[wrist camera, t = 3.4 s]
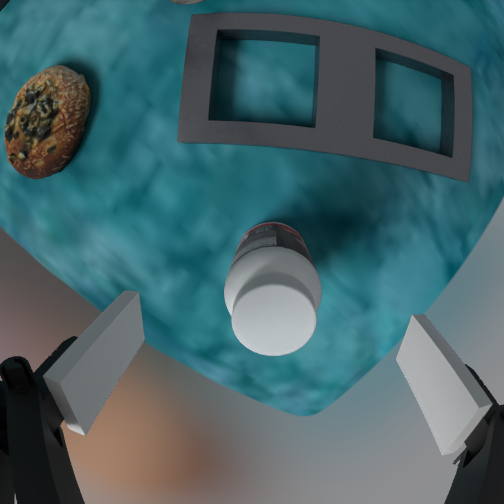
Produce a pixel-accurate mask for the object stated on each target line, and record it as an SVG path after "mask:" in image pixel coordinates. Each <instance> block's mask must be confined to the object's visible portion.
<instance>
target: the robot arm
mask: <svg viewBox="0 0 504 504" xmlns="http://www.w3.org/2000/svg"><path fill="white" fill-rule="evenodd" d="M8 1H9V0H0V10H1V9H2V8H3V7H4V5H5V4H6V3H7V2H8ZM144 340H145V338H144V331H143V323H142V315H141V307H140V297H139V292H134V291H128V290H125V291H124V292H123V293H122V294H121V295H120V296H119V297H118V298H116V299H115V300H114V301H113V302H112V303H111V304H110V305H109V306H108V307H107V308H106V309H105V310H104V311H103V312H102V313H101V314H100V316H99V317H98V318H97V319H96V320H95V321H94V322H93V323H92V324H91V325H90V326H89V327H88V328H87V329H86V330H85V331H84V332H83V333H82V334H81V335H80V336H79V337H75V336H73V337H71V338H69V339H67V340H65V341H64V342H63V343H61V345H60V346H59V347H58V348H57V350H55V351H54V352H53V353H52V354H51V356H49V357H48V358H47V359H46V360H45V361H44V362H43V363H42V364H41V365H40V367H39V368H38V369H37V370H36V371H35V372H34V373H33V371H32V369H31V366H30V364H29V362H28V360H26V359H25V358H23V357H20V356H14V357H10V358H8V359H6V360H4V361H3V362H2V363H1V364H0V376H1V378H2V380H3V381H0V504H14V495H15V494H16V500H17V504H85V503H84V500H83V498H82V495H81V492H80V489H79V487H78V484H77V481H76V478H75V475H74V471H73V468H72V465H71V462H70V458H69V455H68V451H67V447H66V443H65V439H64V435H63V431H62V429H61V426H60V425H61V423H62V422H63V420H65V422H66V424H67V426H68V428H69V429H71V430H73V431H75V432H77V433H80V434H82V435H85V436H86V434H87V433H88V431H89V429H90V427H91V426H92V424H93V422H94V421H95V419H96V417H97V416H98V414H99V412H100V411H101V409H102V407H103V406H104V404H105V402H106V400H107V399H108V397H109V396H110V394H111V393H112V391H113V389H114V387H115V386H116V384H117V383H118V381H119V380H120V378H121V376H122V375H123V373H124V372H125V370H126V368H127V367H128V365H129V364H130V362H131V360H132V359H133V357H134V356H135V354H136V353H137V351H138V350H139V348H140V346H141V345H142V343H143V342H144ZM396 360H397V362H398V364H399V366H400V368H401V370H402V372H403V374H404V376H405V378H406V379H407V381H408V383H409V385H410V387H411V389H412V391H413V393H414V395H415V397H416V399H417V401H418V403H419V406H420V408H421V410H422V412H423V414H424V416H425V418H426V420H427V422H428V424H429V427H430V429H431V431H432V433H433V436H434V438H435V440H436V442H437V445H438V447H439V449H440V452H441V454H442V456H443V455H446V454H450V453H452V452H456V451H457V450H458V449H459V448H460V446H461V445H462V444H463V443H464V442H465V444H466V446H467V447H466V448H465V450H464V451H463V452H462V453H461V454H460V455H459V456H458V457H457V459H456V460H455V461H454V463H453V464H456V463H457V461H459V460H460V463H459V464H458V469H457V472H456V475H455V478H454V480H453V483H452V486H451V489H450V491H449V494H448V496H447V498H446V501H445V503H444V504H504V405H500V406H499V404H498V403H497V402H496V400H495V399H494V397H493V396H492V394H491V393H490V391H489V390H488V389H487V387H486V386H485V385H484V383H483V382H482V380H481V379H479V376H478V375H477V374H476V372H475V371H474V370H473V369H472V368H470V367H469V366H468V365H466V364H464V363H463V362H462V361H461V359H460V358H459V357H458V355H457V354H456V353H455V351H454V350H453V349H452V348H451V346H450V345H449V344H448V343H447V341H446V340H445V339H444V338H443V336H442V335H441V334H440V333H439V331H438V330H437V329H436V328H435V327H434V325H433V324H432V323H431V322H430V321H429V319H428V318H427V317H426V316H425V315H412V317H411V320H410V323H409V326H408V328H407V331H406V334H405V337H404V339H403V342H402V345H401V347H400V350H399V353H398V355H397V358H396Z"/></svg>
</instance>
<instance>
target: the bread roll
mask: <svg viewBox="0 0 504 504" xmlns="http://www.w3.org/2000/svg"><path fill="white" fill-rule="evenodd" d="M90 104H91V94H90V88H89V87H88V85H87V83H86V80H85V77H84V75H83V74H80V75H78V73H76V72H75V71H74V70H72V69H69V68H67V67H65V66H63V65H57V66H54V67H50V68H46V69H45V70H44V71H42V72H39V73H38V74H37V75H34V76H33V77H31V79H30V80H29V81H28V82H26V83H25V85H24V86H23V87H22V88H21V89H20V91H19V92H18V94H17V96H16V98H15V102H14V105H13V107H12V110H10V112H9V114H8V115H7V122H6V124H7V125H5V144H6V151H7V155H8V161H9V162H10V164H11V165H12V166H13V167H14V168H15V169H16V170H17V171H18V172H19V173H20V174H22V175H23V176H26V177H29V178H32V179H41V178H45V177H48V176H51V175H53V174H55V173H58V172H61V171H62V170H63V168H64V167H65V166H66V165H67V164H68V163H69V162H70V161H71V159H72V158H71V157H72V156H73V155H74V154H75V152H76V150H77V148H78V146H79V143H80V142H81V138H82V136H83V133H84V131H85V125H84V123H85V120H86V118H87V115H88V114H89V111H90V106H91V105H90Z"/></svg>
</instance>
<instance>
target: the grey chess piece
mask: <svg viewBox="0 0 504 504" xmlns="http://www.w3.org/2000/svg"><path fill="white" fill-rule="evenodd" d="M170 1H172V2H174V3H177V4H194V3H198V2H201V1H204V0H170Z"/></svg>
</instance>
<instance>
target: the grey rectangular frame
mask: <svg viewBox="0 0 504 504" xmlns="http://www.w3.org/2000/svg"><path fill="white" fill-rule="evenodd" d="M221 40H265V41H279V42H290V43H299V44H307V45H314V46H316V53H315V76H314V95H313V111H312V125H311V128H309V127H301V126H291V125H281V124H270V123H256V122H238V121H214V111H215V99H216V88H217V77H218V67H219V58H220V49H221ZM375 58H378V59H382V60H385V61H389V62H392V63H396V64H399V65H402V66H405V67H408V68H412V69H414V70H417V71H420V72H423V73H426V74H429V75H431V76H434V77H436V78H439V79H441V85H442V121H441V142H440V154H437V153H433V152H430V151H426V150H422V149H418V148H415V147H411V146H407V145H403V144H398V143H394V142H390V141H385V140H380V139H376V138H373V127H374V109H375ZM472 120H473V110H472V82H471V69H470V67H468V66H466V65H464V64H462V63H460V62H458V61H455V60H453V59H451V58H449V57H447V56H444V55H442V54H440V53H437V52H435V51H432V50H430V49H427V48H425V47H422V46H420V45H417V44H414V43H411V42H409V41H406V40H403V39H400V38H396V37H393V36H390V35H387V34H383V33H380V32H376V31H372V30H369V29H365V28H361V27H356V26H352V25H347V24H343V23H338V22H332V21H327V20H321V19H314V18H307V17H299V16H290V15H278V14H262V13H211V14H195V15H192V16H191V22H190V28H189V35H188V41H187V48H186V56H185V64H184V72H183V81H182V91H181V101H180V113H179V125H178V140H177V142H179V143H197V144H229V145H248V146H262V147H274V148H285V149H295V150H304V151H312V152H320V153H327V154H335V155H341V156H348V157H354V158H360V159H366V160H371V161H377V162H382V163H387V164H392V165H397V166H402V167H406V168H411V169H415V170H419V171H424V172H428V173H432V174H436V175H440V176H443V177H447V178H451V179H455V180H459V181H464V182H468V181H469V172H470V162H471V148H472Z"/></svg>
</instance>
